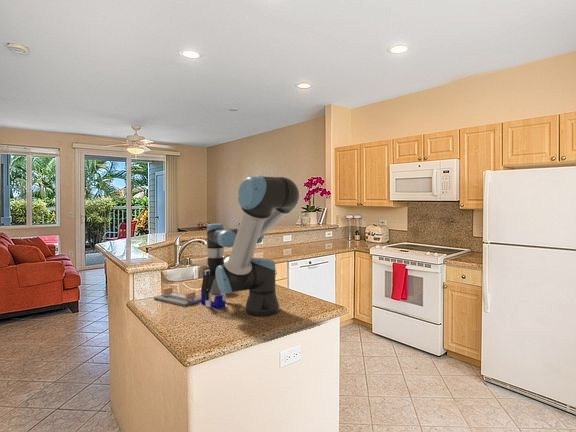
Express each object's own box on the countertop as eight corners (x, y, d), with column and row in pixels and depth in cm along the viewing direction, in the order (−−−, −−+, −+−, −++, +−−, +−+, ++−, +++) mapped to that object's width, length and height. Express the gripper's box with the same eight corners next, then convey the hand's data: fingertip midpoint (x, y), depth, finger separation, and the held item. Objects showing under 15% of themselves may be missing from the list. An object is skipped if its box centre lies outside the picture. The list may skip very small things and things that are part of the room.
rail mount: (203, 300, 173) (203, 290, 173) (184, 306, 163) (184, 296, 162) (173, 294, 184) (173, 284, 184) (153, 299, 174) (153, 289, 174)
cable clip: (225, 307, 162) (225, 294, 162) (217, 309, 159) (217, 296, 159) (209, 302, 170) (209, 290, 170) (201, 304, 167) (201, 292, 166)
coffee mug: (227, 293, 186) (227, 274, 185) (208, 294, 183) (207, 275, 183) (226, 287, 199) (225, 269, 198) (207, 288, 196) (207, 270, 196)
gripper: (225, 253, 176) (225, 297, 177) (192, 259, 158) (192, 308, 159) (237, 254, 172) (237, 299, 173) (204, 260, 154) (204, 311, 155)
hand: (215, 304), depth 166 cm, fingers open, 9 cm apart
